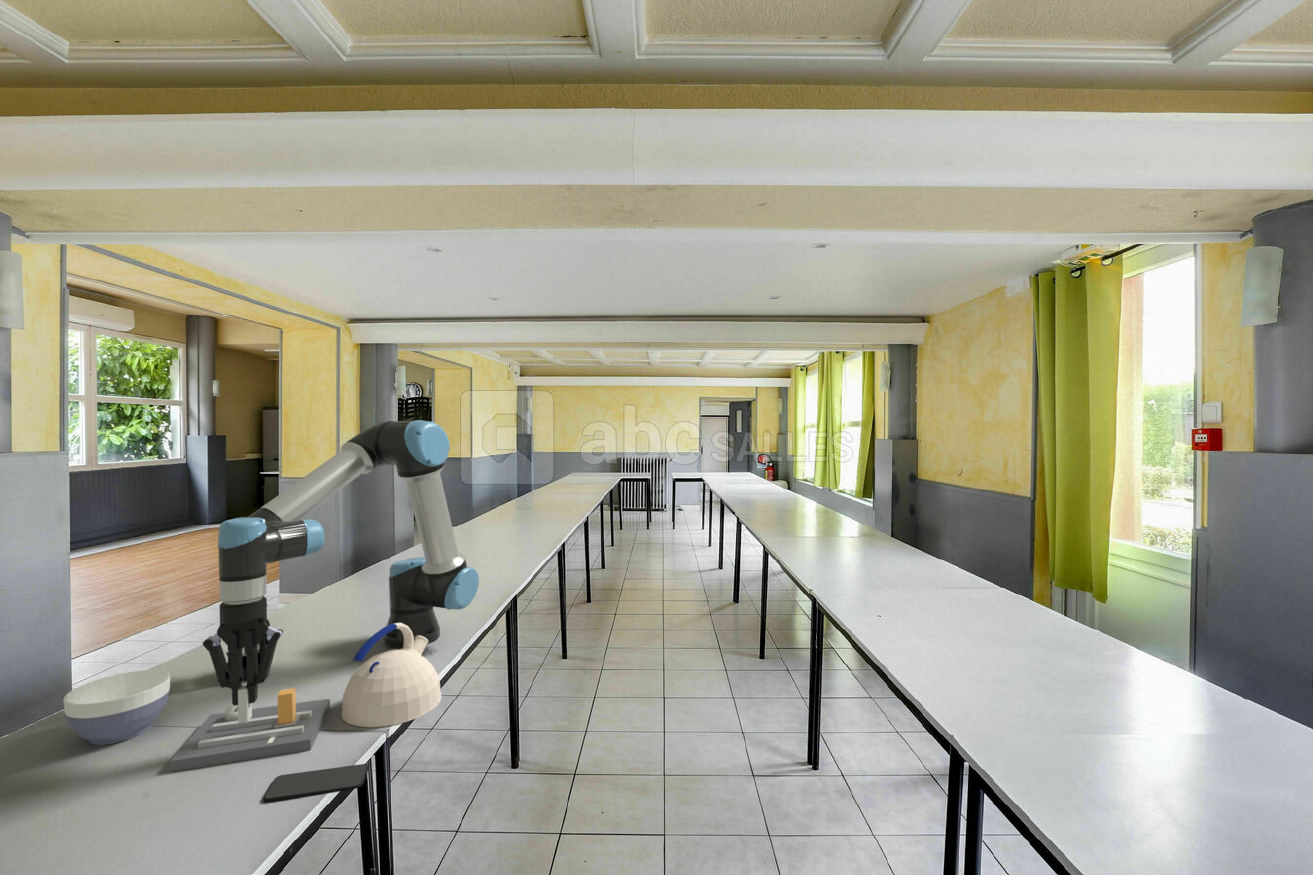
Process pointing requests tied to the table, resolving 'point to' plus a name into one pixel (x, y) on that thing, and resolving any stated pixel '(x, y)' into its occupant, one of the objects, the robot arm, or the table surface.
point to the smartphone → (316, 782)
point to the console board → (250, 736)
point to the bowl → (117, 705)
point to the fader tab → (287, 709)
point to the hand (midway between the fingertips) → (245, 719)
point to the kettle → (391, 683)
